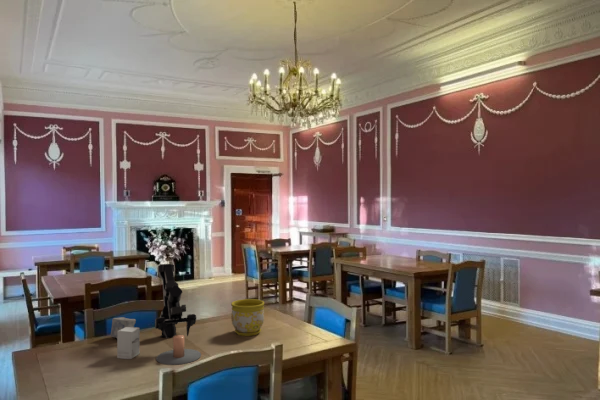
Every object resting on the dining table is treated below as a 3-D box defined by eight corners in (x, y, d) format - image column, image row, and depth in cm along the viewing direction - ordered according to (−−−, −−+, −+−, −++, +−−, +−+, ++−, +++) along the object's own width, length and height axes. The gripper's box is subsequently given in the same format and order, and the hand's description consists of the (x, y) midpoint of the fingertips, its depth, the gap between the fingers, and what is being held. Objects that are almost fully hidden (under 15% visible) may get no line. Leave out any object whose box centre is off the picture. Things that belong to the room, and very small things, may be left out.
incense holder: (136, 336, 243) (136, 317, 243) (124, 341, 235) (123, 321, 235) (122, 334, 247) (122, 315, 247) (110, 338, 240) (110, 319, 240)
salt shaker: (171, 356, 212) (171, 336, 212) (180, 353, 216) (180, 334, 215) (177, 358, 209) (177, 339, 208) (186, 355, 212) (186, 336, 212)
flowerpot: (271, 331, 252) (271, 301, 252) (250, 339, 237) (250, 308, 237) (245, 326, 262) (245, 297, 262) (224, 334, 247) (224, 303, 247)
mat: (148, 363, 204) (148, 362, 204) (168, 348, 224) (168, 347, 224) (190, 366, 200) (190, 365, 200) (207, 351, 220) (207, 350, 220)
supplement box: (131, 359, 209) (131, 331, 209) (116, 358, 210) (116, 330, 210) (140, 354, 216) (140, 327, 216) (125, 352, 218) (125, 326, 218)
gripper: (155, 300, 216) (158, 330, 206) (195, 297, 223) (200, 326, 213) (153, 313, 223) (156, 343, 213) (192, 309, 231) (196, 337, 221)
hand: (177, 337), depth 215 cm, fingers open, 9 cm apart
